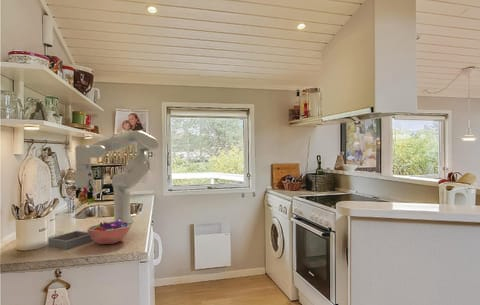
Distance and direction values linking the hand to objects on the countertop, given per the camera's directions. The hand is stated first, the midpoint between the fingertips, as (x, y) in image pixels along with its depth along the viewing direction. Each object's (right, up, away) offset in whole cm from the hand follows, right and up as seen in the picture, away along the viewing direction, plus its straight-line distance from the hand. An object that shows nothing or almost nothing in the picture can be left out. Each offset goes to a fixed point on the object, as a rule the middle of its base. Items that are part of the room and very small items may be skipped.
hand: (84, 198), depth 166 cm
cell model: (+23, -19, -20) cm, 36 cm away
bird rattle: (+1, -4, 0) cm, 4 cm away
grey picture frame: (+4, -19, -19) cm, 28 cm away
